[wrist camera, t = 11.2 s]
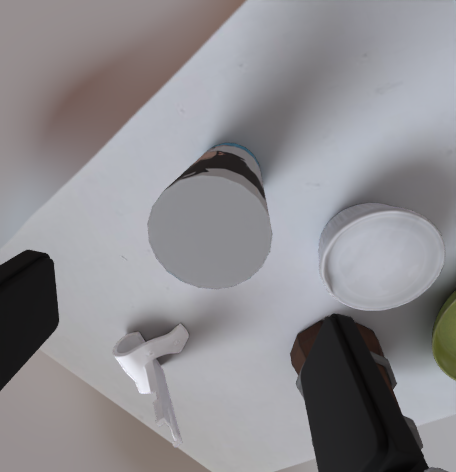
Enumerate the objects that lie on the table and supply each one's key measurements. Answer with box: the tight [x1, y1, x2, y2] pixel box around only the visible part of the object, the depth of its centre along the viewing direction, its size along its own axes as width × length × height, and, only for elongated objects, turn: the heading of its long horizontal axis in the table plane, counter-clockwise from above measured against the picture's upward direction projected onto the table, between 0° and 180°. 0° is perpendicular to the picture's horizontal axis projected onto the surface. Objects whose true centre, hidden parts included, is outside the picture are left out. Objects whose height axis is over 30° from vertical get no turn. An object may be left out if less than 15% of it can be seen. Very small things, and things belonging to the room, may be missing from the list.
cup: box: [148, 143, 272, 289], centre depth 21 cm, size 7×7×15 cm
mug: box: [290, 321, 423, 450], centre depth 31 cm, size 16×12×15 cm
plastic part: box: [113, 323, 189, 448], centre depth 34 cm, size 8×10×12 cm
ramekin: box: [318, 203, 445, 311], centre depth 27 cm, size 11×11×5 cm
